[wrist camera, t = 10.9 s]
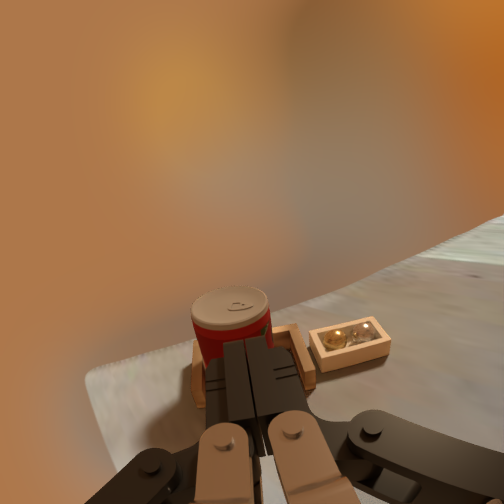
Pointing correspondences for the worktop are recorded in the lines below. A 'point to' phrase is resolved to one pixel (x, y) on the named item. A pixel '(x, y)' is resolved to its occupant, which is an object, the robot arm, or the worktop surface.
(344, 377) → the worktop surface
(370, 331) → the steel ball
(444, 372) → the worktop surface
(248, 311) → the canned food
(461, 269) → the worktop surface
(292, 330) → the birch holder
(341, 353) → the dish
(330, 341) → the brass ball
